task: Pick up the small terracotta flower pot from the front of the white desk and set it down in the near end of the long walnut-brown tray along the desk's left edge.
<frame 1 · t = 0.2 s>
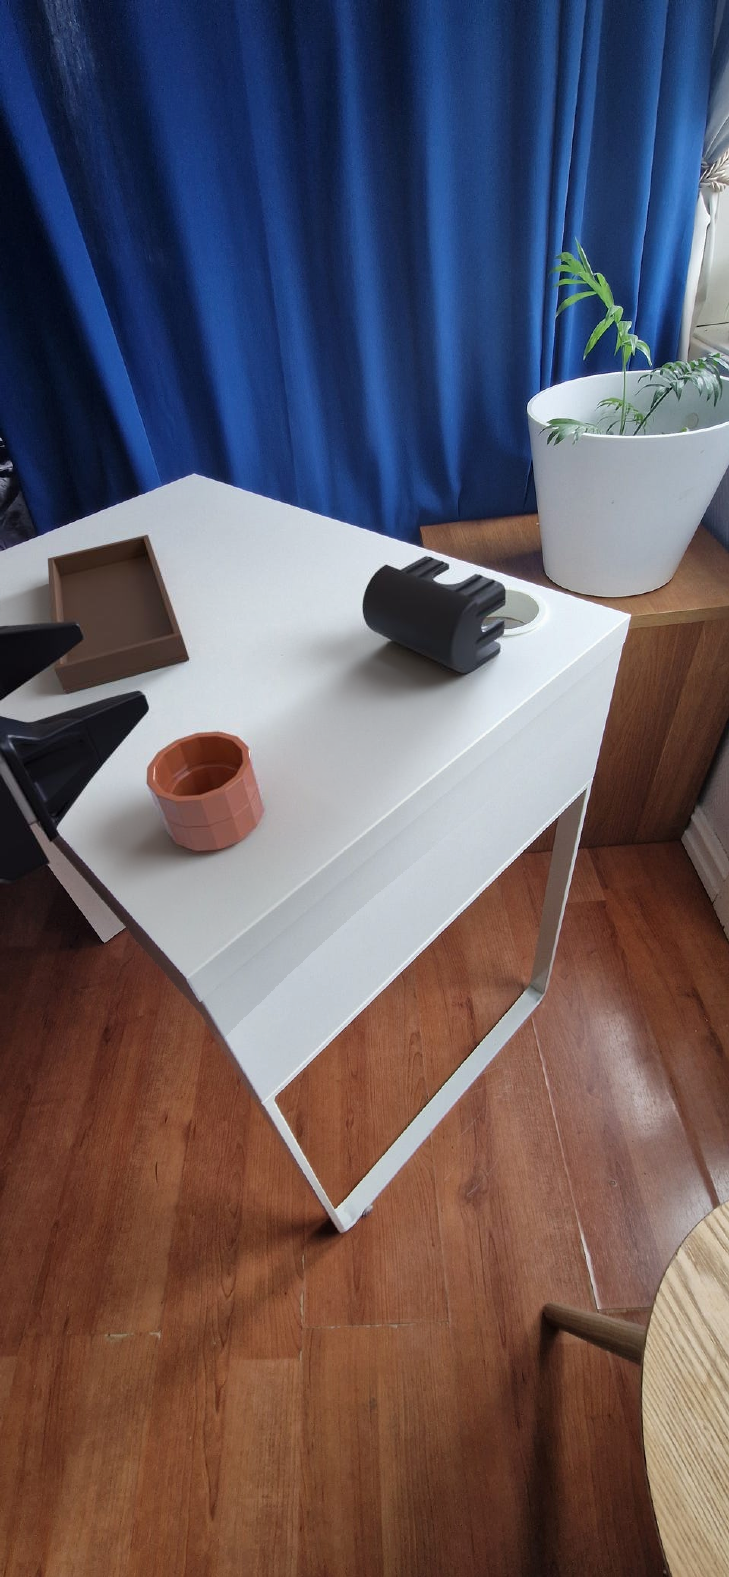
hand: (110, 662, 38), 14 cm above the table, tool horizontal, fingers open, 9 cm apart
terracotta flower pot: (217, 819, 48), on the table
end cap: (435, 653, 60), on the table
tray: (116, 616, 71), on the table
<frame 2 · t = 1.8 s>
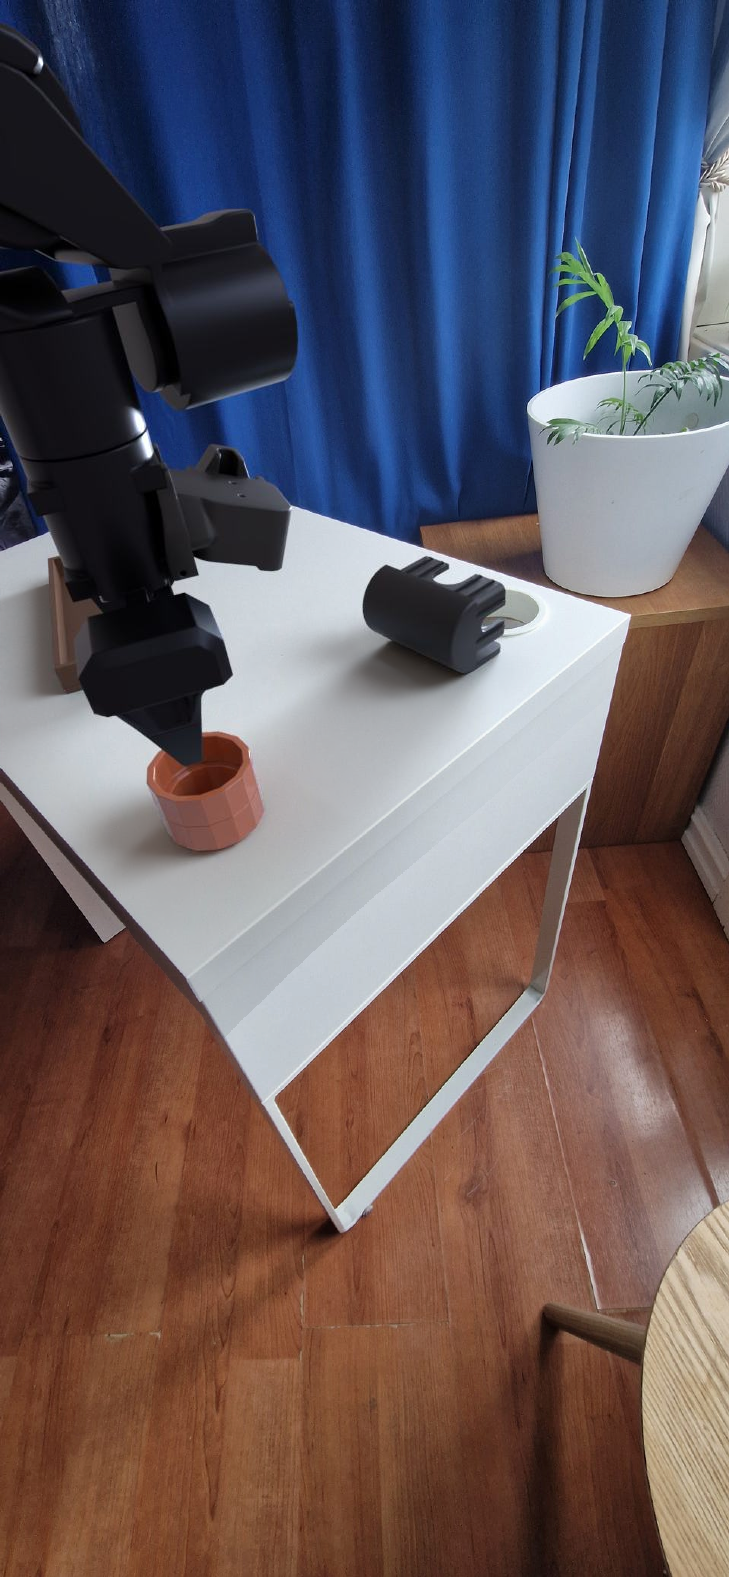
hand: (180, 716, 42), 9 cm above the table, tool pointing down, fingers open, 9 cm apart
nothing on the table moved.
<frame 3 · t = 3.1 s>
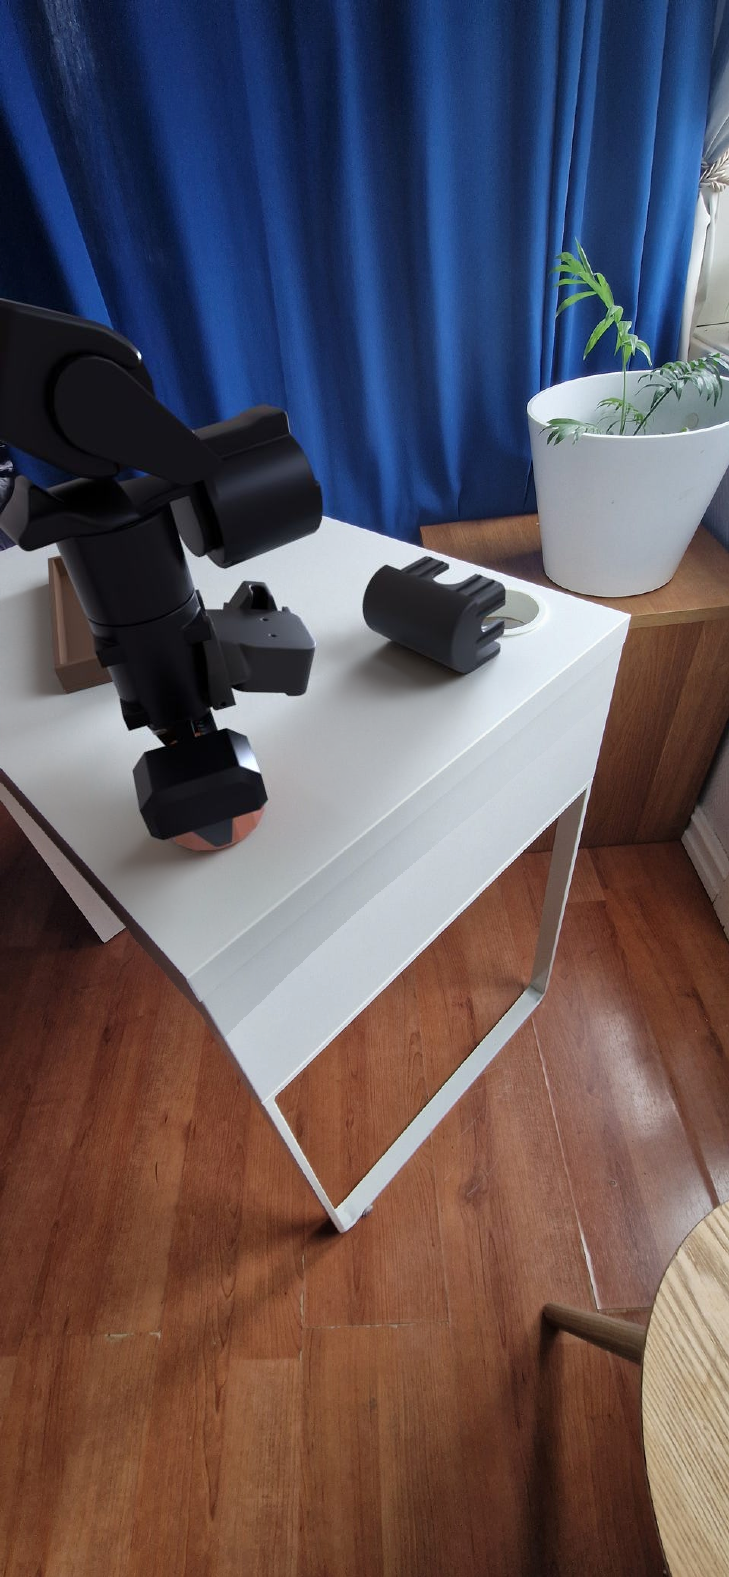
hand: (213, 808, 47), 1 cm above the table, tool pointing down, fingers closed on terracotta flower pot, 7 cm apart
terracotta flower pot: (217, 818, 48), on the table, touching gripper
everything else where it was.
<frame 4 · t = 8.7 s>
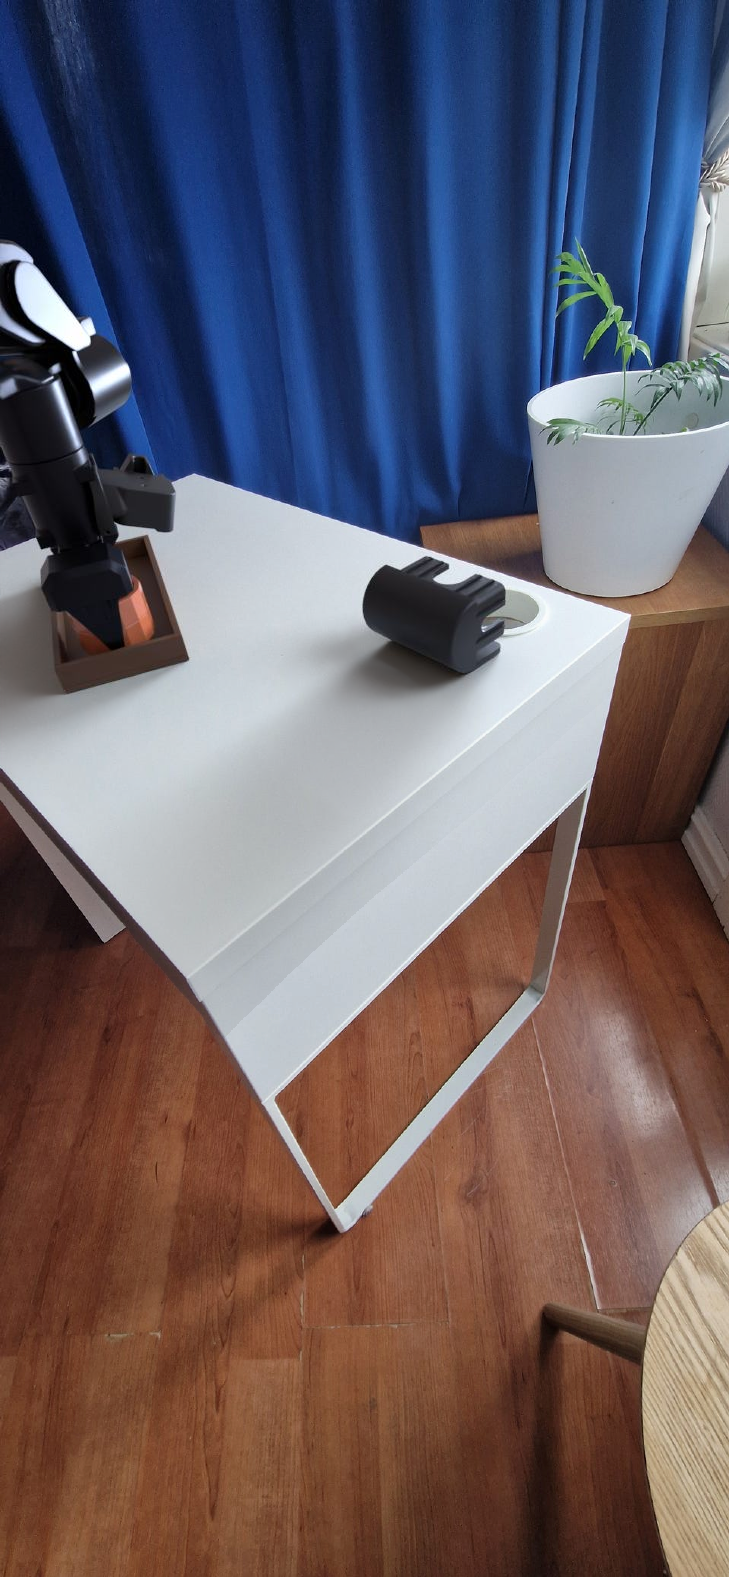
hand: (115, 632, 64), 2 cm above the table, tool pointing down, fingers closed on terracotta flower pot, 7 cm apart
terracotta flower pot: (120, 641, 65), point 1 cm above the table, touching gripper
everything else where it was.
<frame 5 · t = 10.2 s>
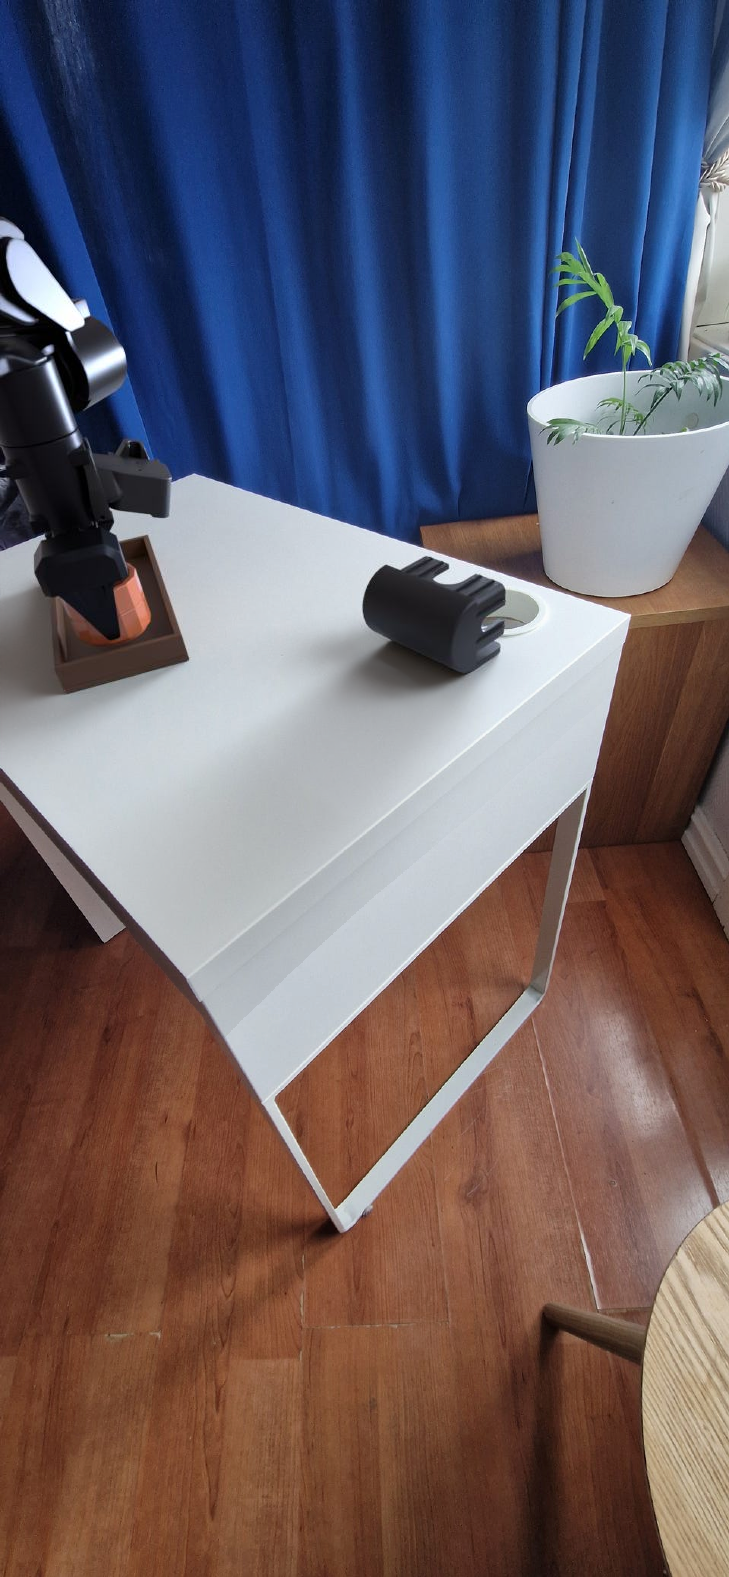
hand: (111, 620, 63), 3 cm above the table, tool pointing down, fingers closed on terracotta flower pot, 7 cm apart
terracotta flower pot: (116, 629, 64), point 2 cm above the table, touching gripper
everything else where it was.
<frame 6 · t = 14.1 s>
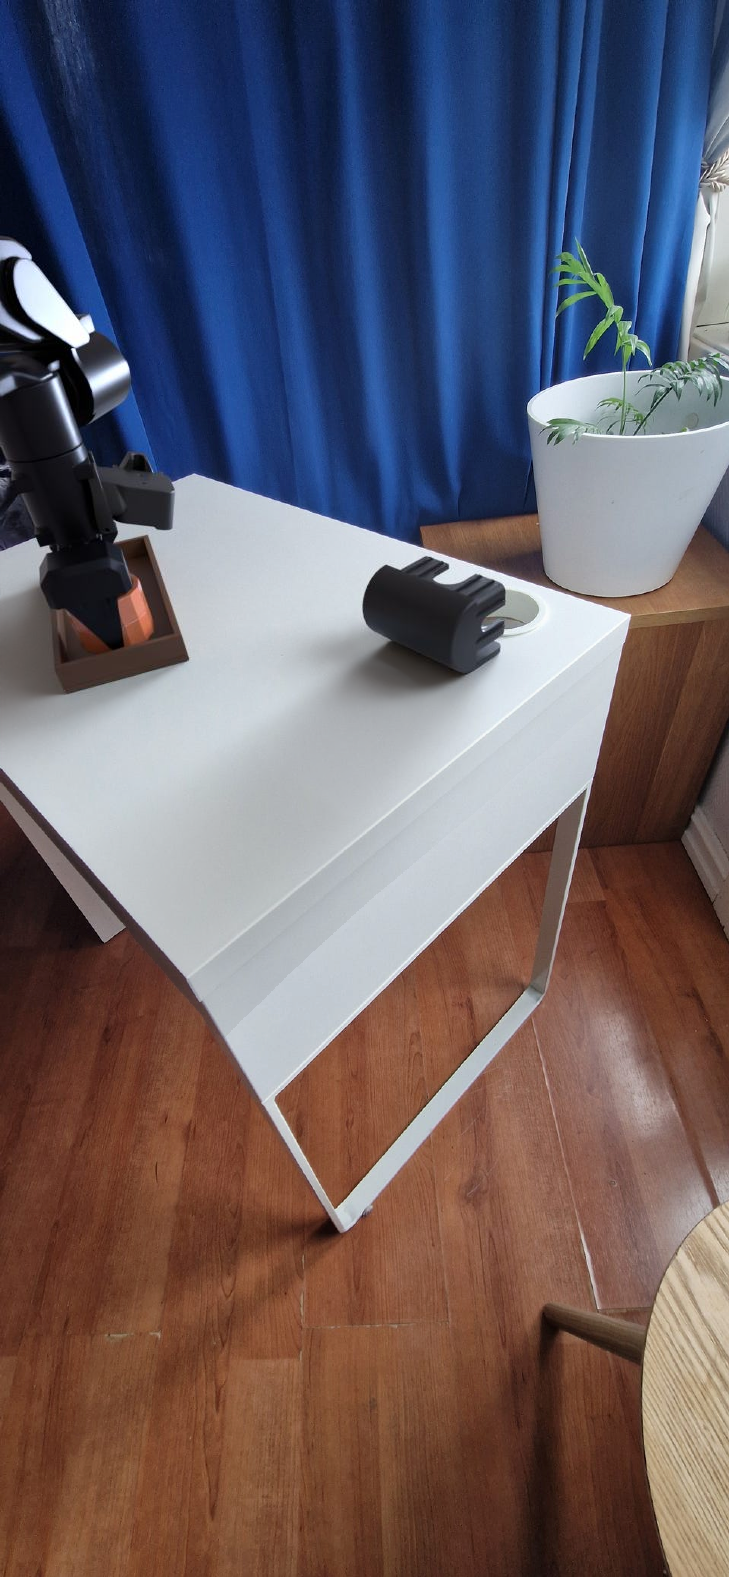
hand: (115, 630, 64), 2 cm above the table, tool pointing down, fingers closed on terracotta flower pot, 7 cm apart
terracotta flower pot: (119, 639, 65), point 1 cm above the table, touching gripper
everything else where it was.
when the fingers open (3 cm above the table, at t = 17.5 s): terracotta flower pot drops 2 cm, resting on tray.
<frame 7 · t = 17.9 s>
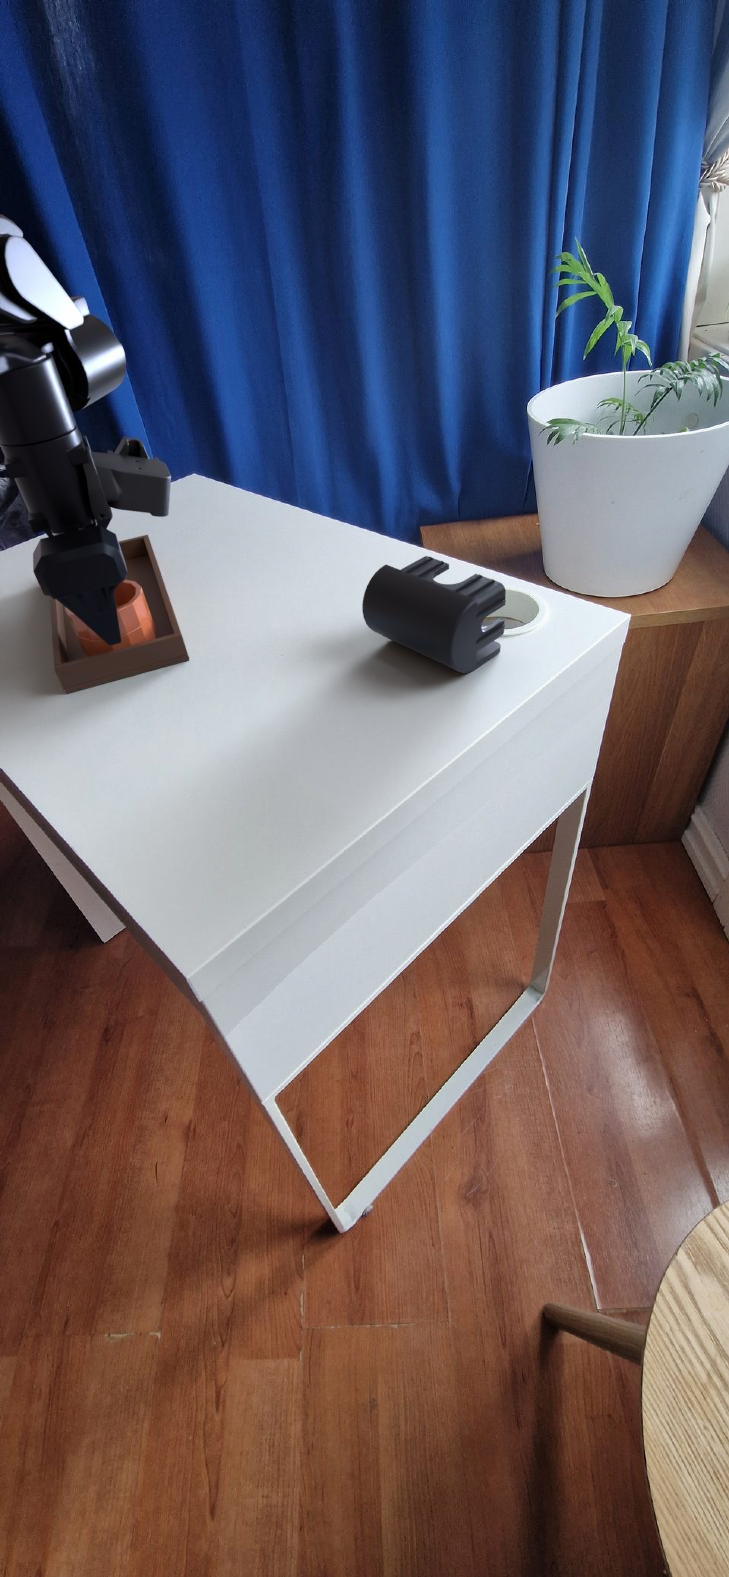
hand: (110, 619, 63), 3 cm above the table, tool pointing down, fingers open, 9 cm apart
terracotta flower pot: (122, 646, 65), point 1 cm above the table, touching tray
everything else where it was.
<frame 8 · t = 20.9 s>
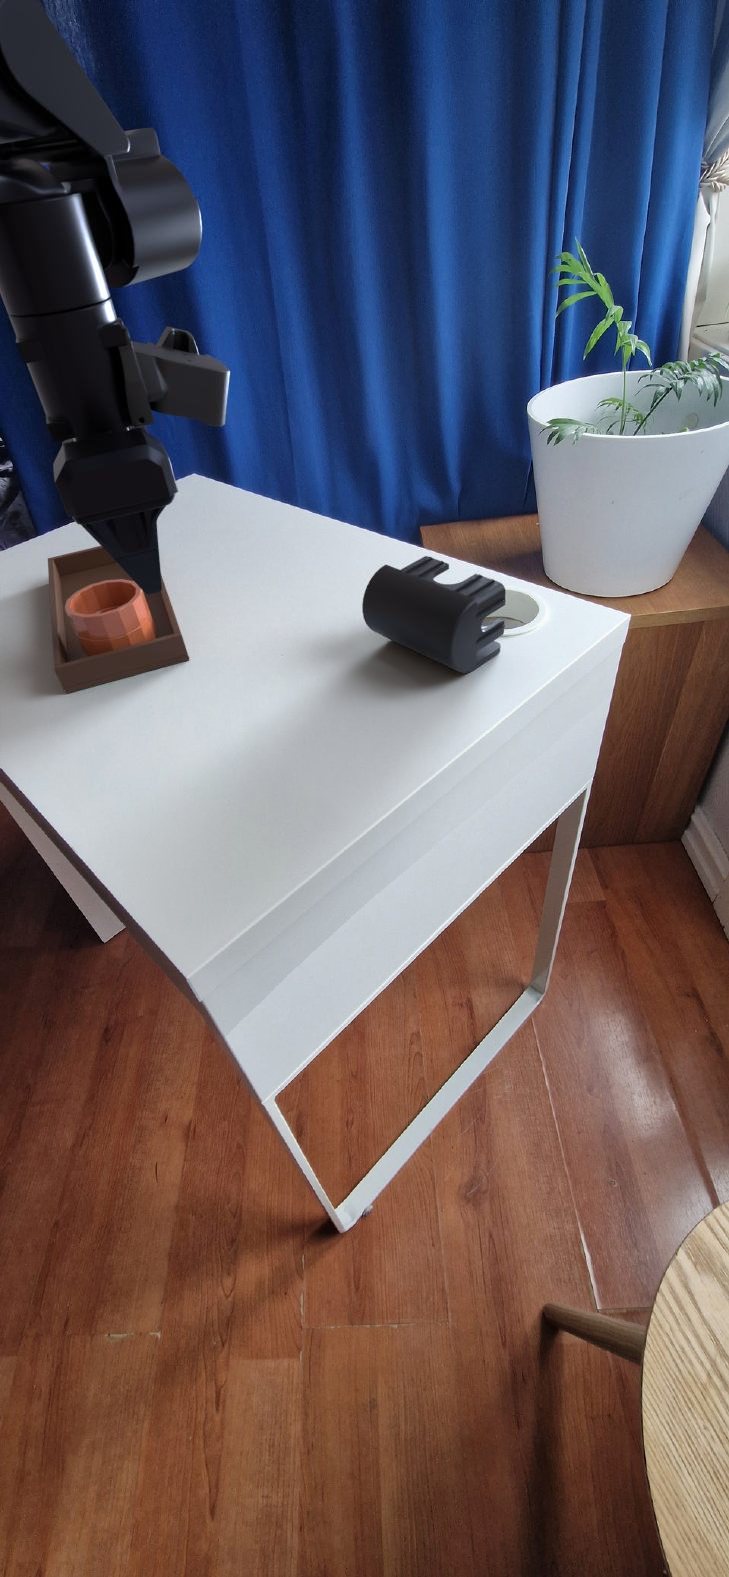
hand: (146, 565, 50), 12 cm above the table, tool pointing down, fingers open, 9 cm apart
nothing on the table moved.
at the end: terracotta flower pot inside the target area in the tray (7.5 cm from its centre), point 0.6 cm above the tray's base; terracotta flower pot touching tray; the gripper is holding nothing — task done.
